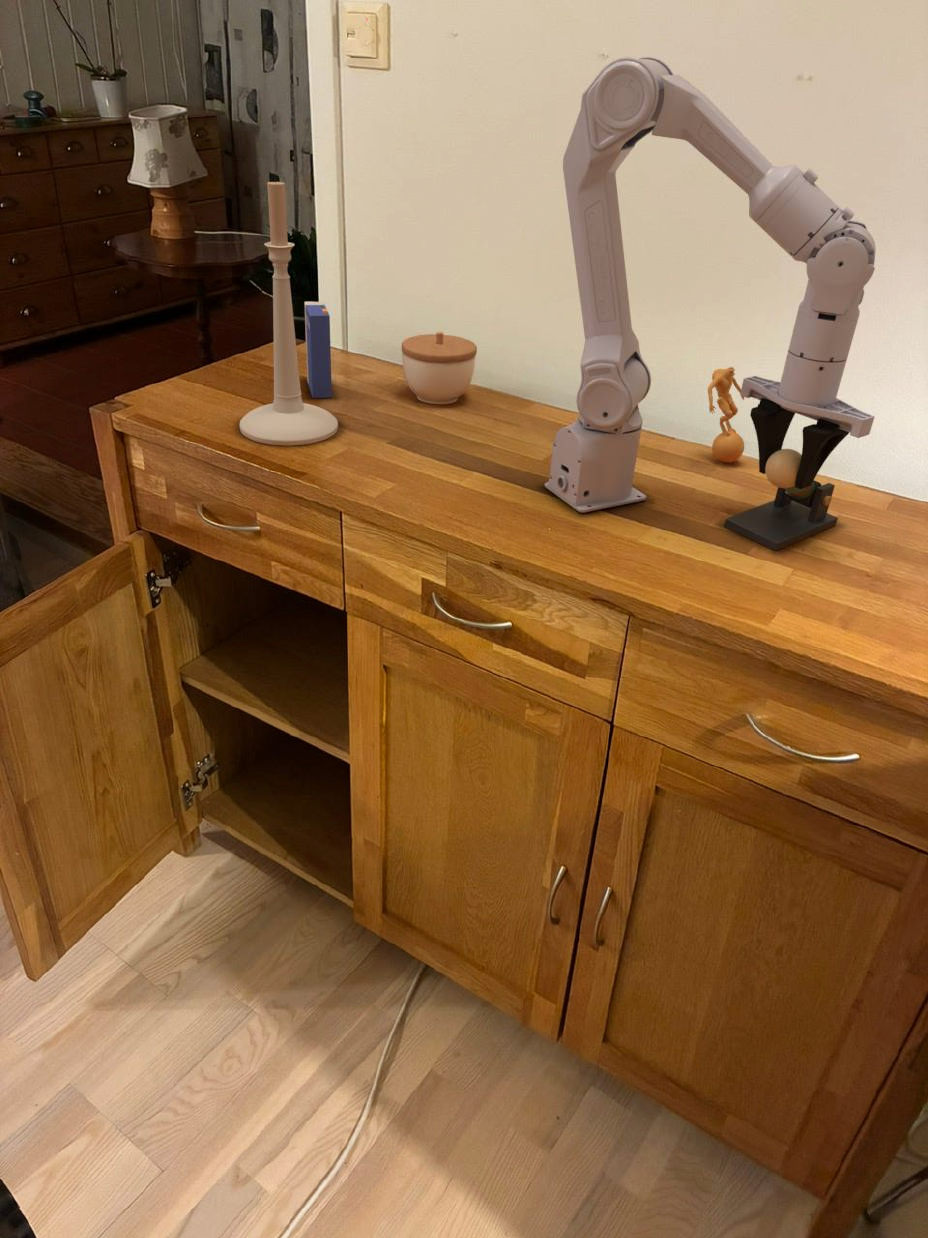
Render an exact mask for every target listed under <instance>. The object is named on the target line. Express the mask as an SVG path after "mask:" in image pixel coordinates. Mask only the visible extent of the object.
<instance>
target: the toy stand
mask: <svg viewBox="0 0 928 1238" xmlns="http://www.w3.org/2000/svg"><path fill="white" fill-rule="evenodd" d="M821 485H822V486H819V487H817V488H816V492H815V496H814V499H813V503H812V506H811V508H809V507H806V506H804V505H802V504H799V503H797V502H795V501H792V500H790V499H789V498H788V496H787V495H786V494H785V492H786V491H785V489H784V488H779V487H777V490H776V493H775V494H776V495H775V497H774V500H771V501H768V502H766V503H764V504H761V505H758V506H755V507H753V508H750V509H747V510H745V511H742V512H739V513H736V514H734V515H732V516H729V517H726V518H725V519H724V524H723V527H725V528H726V529H729V530H730V531H733V532H735V533H737V534H739V535H741V536H743V537H745V538H747V539H749V540H752V541H753V542H755V543H758V544H760V545H762V546H764V547H766V548H768V549H770V550H773V551H774V552H777V551H779V550H781V549H785V548H786V547H789V546H791V545H793V544H795V543H797V542H800V541H802V540H805V539H807V538H809V537H812V536H814V535H816V534H818V533H822V532H824V531H826V530H828V529H831V528H833V527H836V526H837V523H838V520H839V517H837V516H835V515H833V514H830V513H829V512H828V511H829V507H830V504H831V502H832V500H833V499H832V498H833V494H834V490H835V487H836V485H835V484H833V483H831V482H827V483H824V484H821Z"/></svg>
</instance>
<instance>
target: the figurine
mask: <svg viewBox="0 0 928 1238" xmlns="http://www.w3.org/2000/svg"><path fill="white" fill-rule="evenodd" d="M735 371H736V370H735V368H734V366H729V367H727V368H717V369H715V370H714V371H713V373H712V375H711V378H712V381H711V382H710V384H709V385H708V387H707V395H708V402H709V406H708V409H709V410H708V411H709V413H710V414H712V415H713V413H714V414H716V412H715V410H717V408H716V407H715V406H714V404H713V401H714V397H713V389H714V388H715V389H716V393H717V396H718V398H717V400H716V403H717V406H718V408H719V409H720V411H721V413H722V414H723V415H722V416H720V418H719V426H720V429H721V431H722V432H721V433H719V434H718V435H717V436H715V438H714V440H713V441H712V444H711V445H712V446H711V450H712V454H713V456H714V457H715V458H716V460H718V461H720V462H722V463H727V464H728V463H733V462H737V460H739V458H741V457H742V455H743V453H744V452H745V442H744V439H743V437H742V436H741V435H740V434H739V433H737V431H736V429H735V428H733V427H732V425H731V423H730V420H731V419H732V418H733V417H735V416H736V415H737V414H738V411H739V409H738V407H737V406H736V404H735V402H734V400H733V397H732V394H731V393H730V390H731V388H732V386H734V387H735V389H736V390H737V391H738V393H739V394H740V393H741V389H742V387H740V386H741V385H739V384H738V383H737V380H736V378H735V377H734V376H735V375H736V373H735ZM740 397H741V399H742V400H743V401H745V397H743V396H740ZM724 422H725V424H724Z"/></svg>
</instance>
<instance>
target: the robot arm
mask: <svg viewBox="0 0 928 1238" xmlns="http://www.w3.org/2000/svg"><path fill="white" fill-rule="evenodd" d="M579 109H580V110H579V112H578V115H577V118H576V121H575V124H574V126H573V129H572V132H571V135H570V138H569V140H568V143H567V146H566V149H565V152H564V155H563V158H562V171H563V179H564V187H565V195H566V202H567V209H568V219H569V225H570V233H571V240H572V241H571V242H572V249H573V256H574V265H575V272H576V280H577V286H578V294H579V302H580V309H581V310H580V311H581V316H582V317H581V318H582V326H583V333H584V334H583V335H584V346H583V350H582V354H581V359H580V374H581V379H580V380H581V381H580V385H579V388H578V391H577V394H576V407H577V410H578V418H577V419H576V420H575V421H574V422H573V423H570V424H569V425H566V426H564V427H561V428H560V429H558V430H557V432H556V433H555V435H554V438H553V441H552V449H551V459H550V467H549V477H548V481H547V482H544V487H545V488H546V489H547V490H548V491H549V492H551V493H553V494H554V495H555V496H556V497H558V498H559V499H560V500H561V501H563V502H565V503H566V504H568V505H569V506H570V507H572V508H573V509H574V510H576V511H577V512H579V513H588V512H593V511H598V510H603V509H604V510H605V509H608V508H613V507H618V506H623V505H628V504H634V503H639V502H643V501H646V500H647V495H646V494H645V493H643V492H641V491H640V490H638V489H637V488H635V487H633V482H634V478H635V477H634V476H635V470H636V465H637V458H638V451H639V447H640V446H639V445H640V440H641V433H642V428H643V421H644V419H643V417H642V415H641V412H640V408H639V404H640V403H641V402H642V401H643V400H644V399H645V398H646V397H647V396H648V394H649V393H650V392H649V391H650V389H651V385H652V375H651V371H650V369H649V367H648V364H647V363H646V362H645V361H644V358H643V357H642V354H641V350H640V342H639V339H638V337H637V335H636V333H635V332H634V330H633V327H632V326H633V325H632V319H631V317H632V316H631V309H630V308H631V307H630V298H629V289H628V280H627V269H626V262H625V252H624V242H623V232H622V224H621V214H620V205H619V195H618V186H617V178H616V177H617V176H616V173H617V171H618V169H619V168H620V166H621V165H622V164H623V162H624V161H625V160H626V158H627V157H628V156H629V154H631V152H632V150H633V149H634V148H635V146H636V144H638V143H639V141H640V140H642V139H643V138H645V137H646V136H647V135H649V134H650V133H651V136H653V137H659V138H660V137H661V138H669V139H675V140H681V141H686V142H687V143H689V144H690V145H691V146H692V147H694V149H695V150H697V152H699V153H700V154H701V155H702V156H704V157H705V158H706V159H707V160H708V161H709V162H710V163H712V164H713V165H714V166H715V167H716V168H717V169H718V170H719V171H720V172H722V174H724V175H725V176H726V177H727V178H728V179H730V180H731V181H732V182H733V183H734V184H736V186H738V188H740V189H741V190H742V191H743V192H745V193H746V194H747V196H748V203H749V205H748V216H749V218H750V219H751V220H752V221H753V222H754V223H755V224H756V225H757V226H758V227H759V228H761V229H762V230H763V231H764V233H766V235H768V237H770V238H771V239H772V240H773V241H774V242H775V243H776V244H777V245H778V246H779V247H780V248H781V249H783V250H784V252H786V254H788V255H789V256H790V257H791V259H793V260H794V261H796V262H802V263H805V264H806V275H807V278H808V280H807V284H806V287H805V292H804V297H803V299H802V301H800V303H799V305H798V308H797V309H798V310H797V313H796V317H795V321H794V325H793V329H792V333H791V338H790V342H789V345H788V350H787V352H786V353H787V354H786V359H785V361H784V366H783V370H782V374H781V378H780V381H777V380H773V379H768V378H763V377H760V376H757V375H753V376H747V377H744V378H743V380H742V385H741V393H740V392H739V396H740V397H741V396H743V397H744V398H746V399H750V398H753V399H756V400H758V401H759V403H757V406H754V407H752V408H751V409H750V415H749V416H750V419H751V420H752V423H753V427H754V430H755V435H756V439H757V448H758V473H760V474H763V475H766V473H765V466H766V463H767V460H768V459H769V457H770V456H771V455H772V454H773V453H775V452H776V451H778V450H781V449H783V445H784V441H785V439H786V435H787V433H788V431H789V428H790V426H791V423H792V421H793V419H794V417H795V415H796V414H797V415H800V416H802V417H806V418H809V419H811V420H814V421H816V423H813V424H809V425H806V426H803V428H802V449H801V455H802V456H801V462H800V465H799V469H798V473H797V476H796V482H795V487H796V488H798V489H803V488H806V487H809V486H811V485H812V482H813V480H814V481H815V478H816V477H817V475H818V473H819V472H820V470H821V468H822V467H823V465H824V464H825V462H826V461H827V459H828V458H829V456H830V455H831V454H832V452H834V450H835V449H836V448H837V447H838V446H839V444H840V443H841V442H842V441H843V440H844V439H845V438H846V437H847V436H848V435H850V436H851V437H854V438H857V439H860V438H863V437H866V436H868V435H870V433H871V430H872V427H873V424H874V420H875V416H874V415H872V414H870V413H867V412H864V411H862V410H861V409H858V408H856V407H854V406H852V405H851V404H849V403H847V402H845V401H843V400H842V399H839V398H837V396H838V393H839V389H840V386H841V382H842V378H843V375H844V371H845V367H846V363H847V362H848V361H847V360H848V356H849V354H850V351H851V346H852V343H853V340H854V335H855V333H856V328H857V325H858V321H859V318H860V313H861V311H860V308H859V306H860V305H861V304H862V302H863V299H864V295H865V286H866V285H867V284H868V283H869V281H870V280H871V278H872V277H873V275H874V272H875V269H876V268H875V260H876V243H875V240H874V237H873V236H872V234H871V233H870V231H868V229H867V225H866V224H865V223H863V222H862V221H858V220H853V217H854V215H855V213H854V211H852V210H851V209H850V208H849V207H848V206H846V207H845V208H844V209H842V208H841V207H839V205H838V204H836V202H834V201H833V199H831V198H830V197H829V195H827V193H825V192H824V191H823V190H822V189H821V187H819V186H818V185H817V184H816V183H815V182H816V181H817V180H819V175H817V174H816V172H814V171H813V169H811V168H810V167H808V168H807V169H806V170H804V172H803V171H802V169H801V168H800V167H798V166H797V165H796V164H789V165H782V166H775V165H773V164H772V162H770V161H769V160H768V159H767V158H766V156H765V155H763V154H762V152H761V151H760V150H759V149H758V148H757V147H756V146H755V145H754V143H752V142H751V141H750V140H749V139H748V137H746V135H745V134H743V133H742V132H741V130H740V129H739V128H738V127H737V126H736V125H735V124H734V123H733V122H732V121H731V120H730V119H729V118H728V117H727V116H726V115H725V114H724V113H723V112H722V110H720V109H719V107H718V106H717V105H716V104H715V103H714V102H713V101H712V100H711V99H710V98H709V97H708V96H707V95H706V94H705V93H703V92H702V91H701V90H700V89H698V88H697V87H696V86H695V85H693V83H691V82H690V81H689V80H687V79H686V78H684V77H683V76H681V75H680V74H674V73H673V71H672V69H671V68H670V67H669V65H667V64H666V63H665V62H664V61H662V60H661V59H658V58H656V57H651V56H649V57H640V58H637V57H633V56H622V57H618V58H616V59H613V60H612V61H610V62H608V63H607V64H605V66H603V68H602V69H601V70H600V71H599V72H598V74H597V75H596V76H595V78H594V79H593V80H592V81H591V82H590V84H588V86H587V88H586V89H585V90H584V91H583V93H582V94H581V103H580V108H579Z"/></svg>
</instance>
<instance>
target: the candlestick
mask: <svg viewBox="0 0 928 1238" xmlns="http://www.w3.org/2000/svg"><path fill="white" fill-rule="evenodd" d="M266 185H267V202H268V218H269V219H268V220H269V236H270V241H267V242H264V243H263V246H265V247H266V248H267V250H268V260H269V261H270V262H272V267H273V275H272V276H271V278H272V311H273V312H272V313H273V315H272V317H273V319H272V320H273V321H272V322H273V325H272V326H273V328H272V329H273V330H272V331H273V401H272V403H267V404H265V405H261V406H257V407H256V408H253V409H251V410H250V411H248V412H247V413H246V414H245V415H244V416H243V417H242V418H241V419H240V421H239V431H240V433H241V434H242V435H243V436H244V437H245V438H247V439H249V440H251V441H254V442H258V443H260V444H264V445H265V444H266V445H273V446H303V445H309V444H315V443H319V442H321V441H325V440H327V439H329V438H331V437H333V436H334V435H336V434H337V432H338V430H339V422H338V419H337V418H336V417H335V416H334V415H333V414H332V413H331V412H329V411H328V410H327V409H324V408H322V407H321V406H317V405H314V404H311V403H305V402H303V397H302V391H301V389H302V388H301V381H300V372H299V361H298V360H299V359H298V351H297V340H296V332H295V331H296V329H295V322H294V321H295V320H294V312H293V311H294V310H293V302H292V301H293V300H292V290H291V276H290V275H289V273H288V268H289V262H290V261H291V260H292V254H291V250H292V249H293V247H295V243H294V242H289V241H288V223H287V202H286V183H285V182H280V181H277V178H274V181H268V182H267V184H266Z"/></svg>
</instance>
